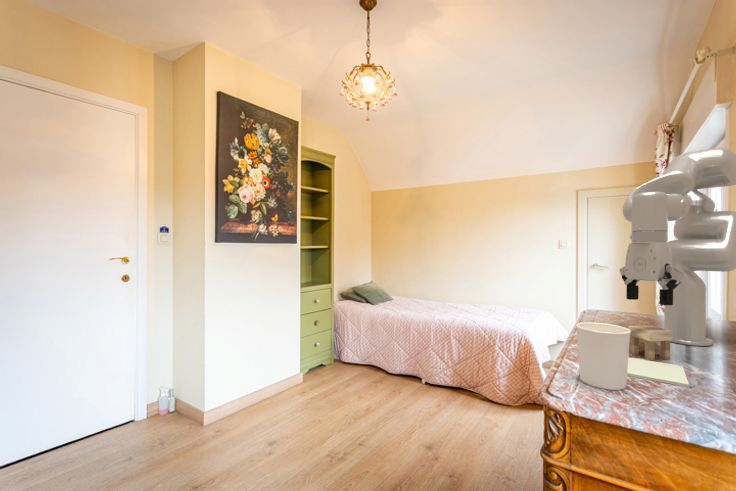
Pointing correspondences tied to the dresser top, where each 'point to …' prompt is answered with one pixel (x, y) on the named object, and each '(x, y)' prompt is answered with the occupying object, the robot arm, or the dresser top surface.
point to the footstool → (650, 340)
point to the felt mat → (657, 371)
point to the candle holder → (603, 354)
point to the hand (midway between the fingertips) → (648, 302)
